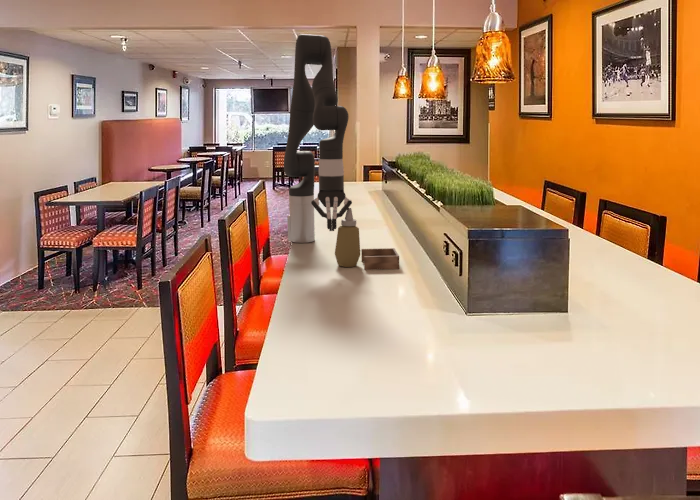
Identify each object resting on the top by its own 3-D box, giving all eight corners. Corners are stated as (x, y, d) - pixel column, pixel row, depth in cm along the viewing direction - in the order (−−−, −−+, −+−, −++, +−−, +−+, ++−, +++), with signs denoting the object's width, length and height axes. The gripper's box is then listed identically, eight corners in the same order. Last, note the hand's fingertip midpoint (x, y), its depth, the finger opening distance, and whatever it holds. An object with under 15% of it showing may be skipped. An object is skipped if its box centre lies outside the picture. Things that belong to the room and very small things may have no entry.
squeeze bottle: (343, 260, 191) (346, 205, 187) (365, 265, 187) (367, 208, 183) (329, 265, 185) (330, 207, 181) (350, 269, 180) (352, 211, 176)
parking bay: (364, 269, 181) (364, 256, 180) (361, 260, 192) (361, 248, 191) (399, 268, 181) (399, 256, 180) (394, 260, 192) (394, 248, 191)
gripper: (308, 175, 175) (310, 233, 179) (353, 174, 176) (354, 232, 179) (309, 173, 182) (310, 228, 186) (352, 172, 183) (352, 228, 187)
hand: (331, 230), depth 183 cm, fingers closed
